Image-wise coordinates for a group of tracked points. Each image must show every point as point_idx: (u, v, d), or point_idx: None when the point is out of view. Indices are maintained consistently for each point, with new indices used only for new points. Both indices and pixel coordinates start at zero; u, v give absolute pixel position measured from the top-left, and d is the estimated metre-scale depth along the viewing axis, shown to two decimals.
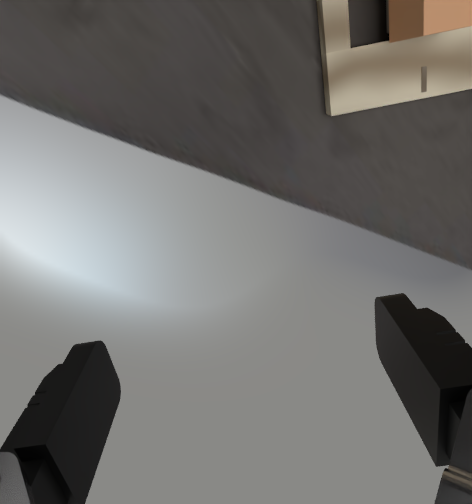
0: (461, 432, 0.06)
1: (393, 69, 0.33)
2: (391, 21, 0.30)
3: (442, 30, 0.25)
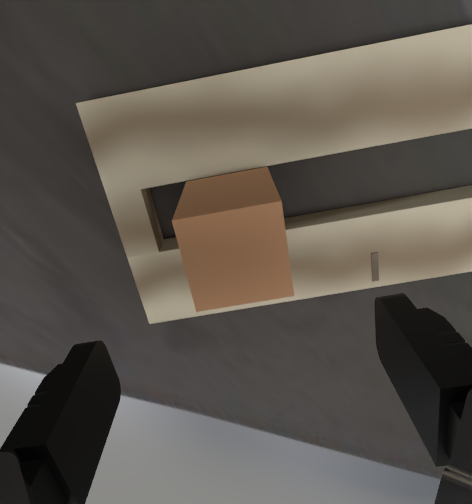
0: (461, 432, 0.06)
1: None
2: None
3: (223, 305, 0.17)
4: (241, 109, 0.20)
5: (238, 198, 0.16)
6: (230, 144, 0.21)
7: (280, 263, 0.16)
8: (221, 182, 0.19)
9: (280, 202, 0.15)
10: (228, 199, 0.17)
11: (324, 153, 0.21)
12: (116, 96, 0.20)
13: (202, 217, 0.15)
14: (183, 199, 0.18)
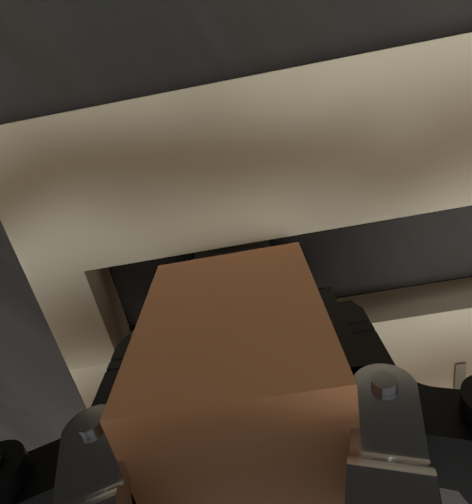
0: None
1: None
2: None
3: None
4: (252, 143, 0.12)
5: (252, 347, 0.08)
6: (233, 200, 0.12)
7: (342, 493, 0.08)
8: (217, 279, 0.11)
9: (353, 386, 0.06)
10: (229, 346, 0.08)
11: (392, 215, 0.13)
12: (31, 121, 0.11)
13: (169, 416, 0.07)
14: (142, 328, 0.09)
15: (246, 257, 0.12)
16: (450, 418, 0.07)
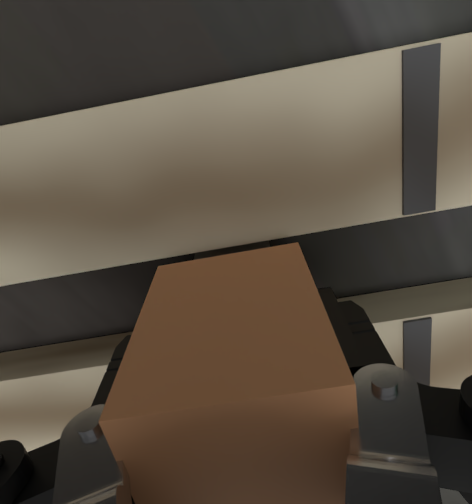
0: None
1: (14, 424, 0.16)
2: None
3: None
4: None
5: (252, 347, 0.08)
6: None
7: (341, 493, 0.08)
8: (217, 279, 0.11)
9: (352, 386, 0.06)
10: (228, 346, 0.08)
11: (132, 260, 0.13)
12: None
13: (168, 416, 0.07)
14: (141, 328, 0.09)
15: (246, 257, 0.12)
16: (450, 418, 0.07)
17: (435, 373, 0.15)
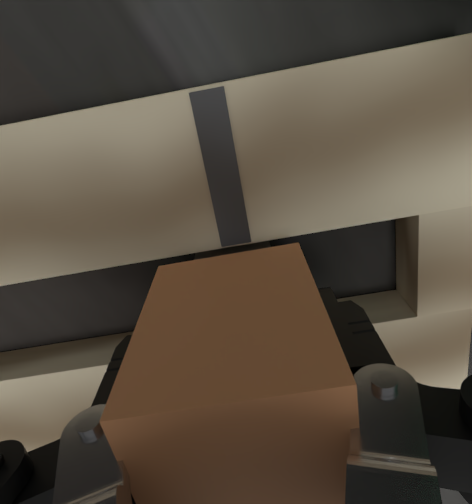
0: None
1: None
2: None
3: None
4: None
5: (252, 347, 0.08)
6: None
7: (342, 493, 0.08)
8: (218, 279, 0.11)
9: (353, 387, 0.06)
10: (229, 347, 0.08)
11: None
12: None
13: (169, 417, 0.07)
14: (142, 328, 0.09)
15: (246, 257, 0.12)
16: (450, 418, 0.07)
17: None
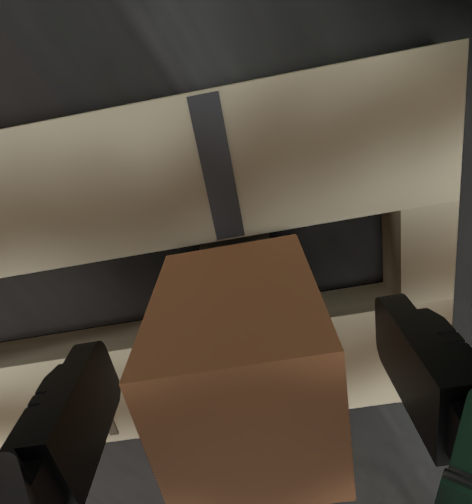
0: (461, 432, 0.06)
1: None
2: None
3: None
4: None
5: (253, 323, 0.09)
6: None
7: (333, 453, 0.08)
8: (221, 266, 0.12)
9: (341, 353, 0.07)
10: (232, 323, 0.09)
11: None
12: None
13: (180, 379, 0.08)
14: (153, 308, 0.10)
15: (248, 247, 0.12)
16: None
17: None
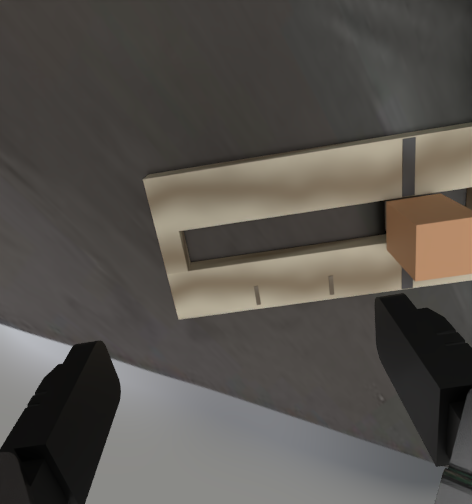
0: (461, 432, 0.06)
1: (229, 287, 0.37)
2: (388, 237, 0.33)
3: (432, 278, 0.28)
4: (244, 185, 0.33)
5: (447, 213, 0.28)
6: (237, 205, 0.34)
7: None
8: (417, 203, 0.31)
9: None
10: (440, 213, 0.28)
11: (296, 212, 0.34)
12: (167, 176, 0.33)
13: (434, 224, 0.27)
14: (404, 213, 0.29)
15: (422, 198, 0.32)
16: None
17: None
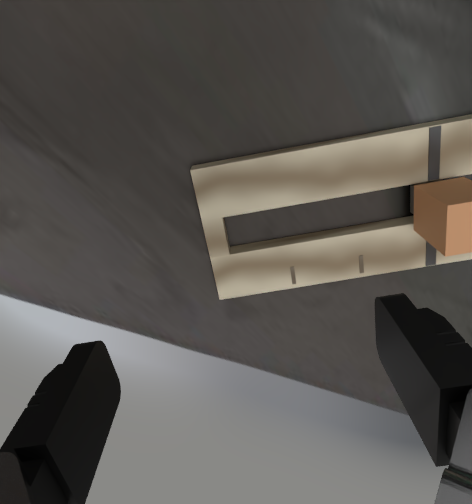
0: (461, 432, 0.06)
1: (267, 268, 0.40)
2: (416, 218, 0.36)
3: (460, 253, 0.32)
4: (283, 173, 0.36)
5: None
6: (276, 192, 0.36)
7: None
8: (444, 186, 0.34)
9: None
10: (467, 195, 0.31)
11: (330, 197, 0.37)
12: (213, 166, 0.35)
13: (463, 204, 0.30)
14: (433, 195, 0.32)
15: (447, 181, 0.35)
16: None
17: None
